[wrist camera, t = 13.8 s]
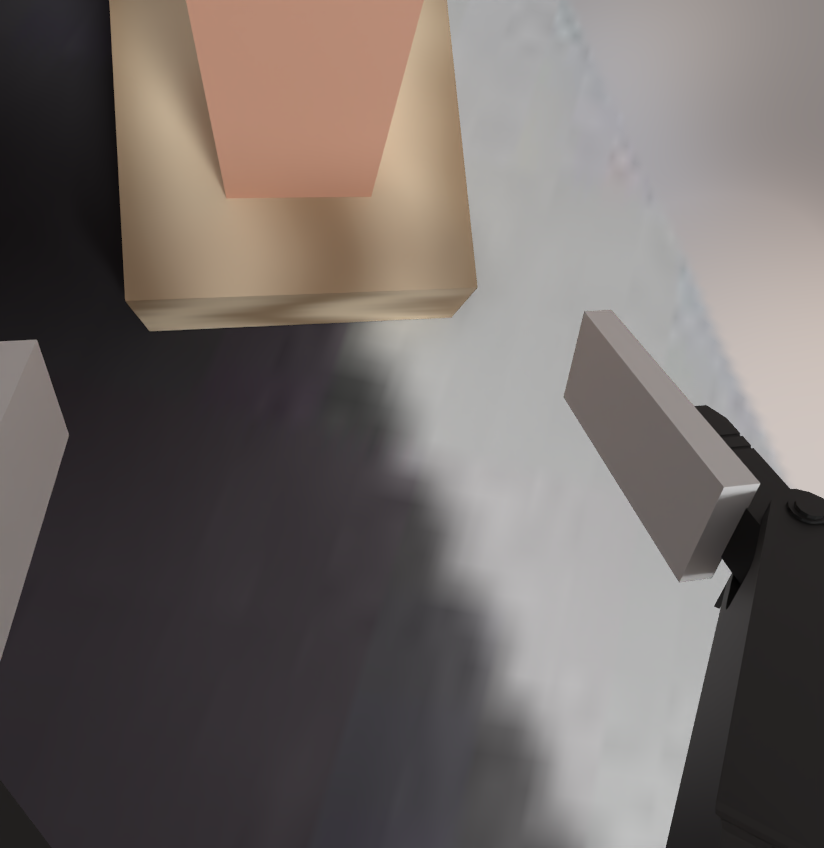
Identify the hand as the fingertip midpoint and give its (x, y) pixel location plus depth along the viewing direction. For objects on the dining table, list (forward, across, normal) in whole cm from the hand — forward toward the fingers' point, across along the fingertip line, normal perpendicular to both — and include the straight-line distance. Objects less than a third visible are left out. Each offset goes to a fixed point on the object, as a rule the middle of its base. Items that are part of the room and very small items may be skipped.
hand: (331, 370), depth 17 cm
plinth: (+14, 0, 0) cm, 14 cm away
